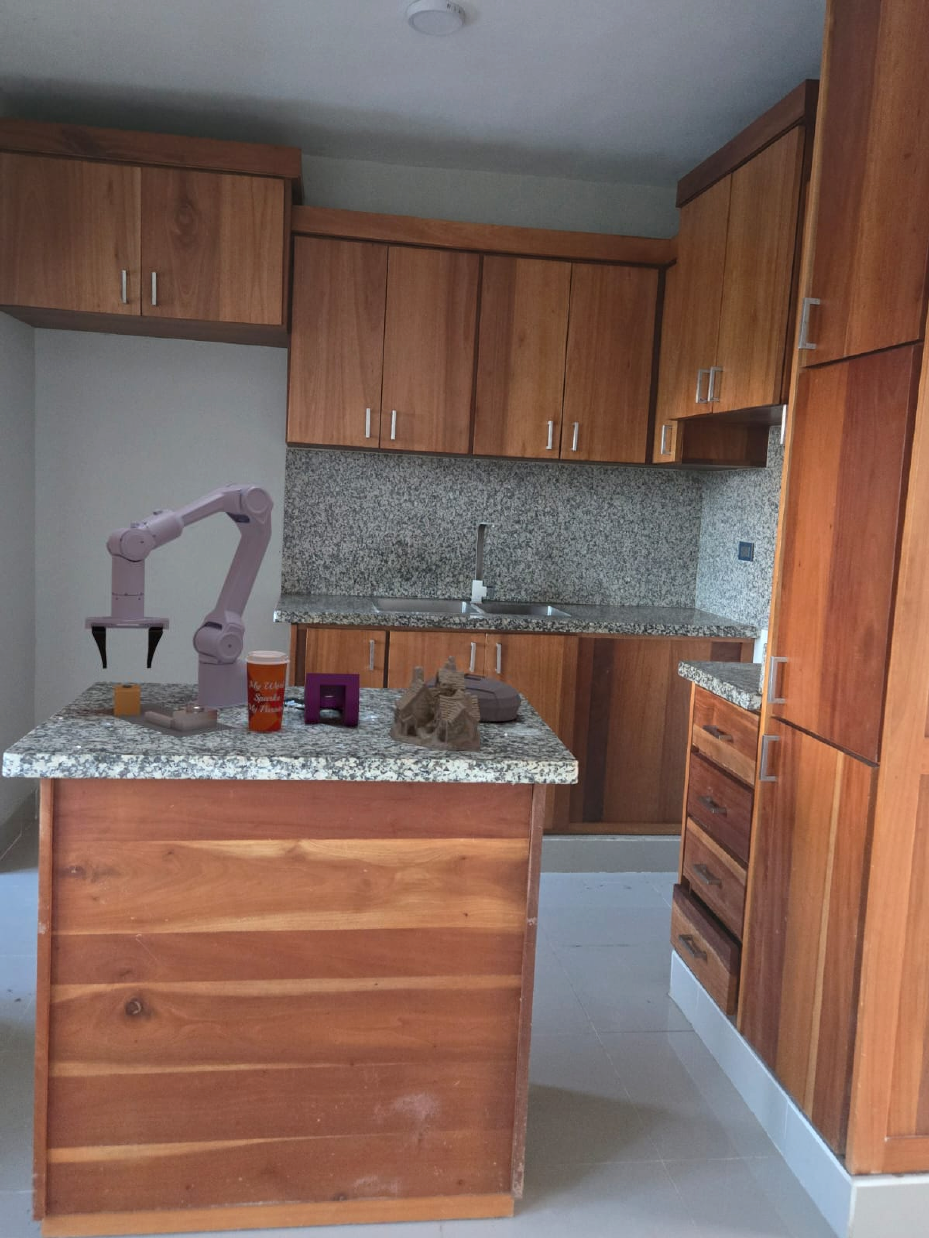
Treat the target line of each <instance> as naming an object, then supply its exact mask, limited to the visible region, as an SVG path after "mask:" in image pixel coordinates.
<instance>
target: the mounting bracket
mask: <svg viewBox="0 0 929 1238" xmlns="http://www.w3.org/2000/svg"><path fill="white" fill-rule="evenodd" d="M303 704H304V724H319V721H320V709H330V710H331V709H337V710H338V709H339V710H340V709H342V721H343V726H358V725H359V717H360V673H333V672H331V673H330V672H329V673H327V672H325V673H323V672H322V673H321V672H319V673H318V672H306V675H305V682H304V691H303Z"/></svg>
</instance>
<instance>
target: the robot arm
mask: <svg viewBox="0 0 929 1238" xmlns="http://www.w3.org/2000/svg"><path fill="white" fill-rule="evenodd" d="M274 505H275V503H274V501H273V499H272V496H271V495H270V493H269V491H268V490H267V489H266V488H265V486H263V485H261V484H257V483H256V484H238V483H229V484H227V485H225V486H222V487H218V488H216V489H214V490H213V491H210V492H209V493H207V494H205V495H204V496H202V497H199V498H198V499H196V500H194V501H192V502H191V503H189V504H187V505H185V506H183V507H180V508H179V509H178V510H175V511H173V510H170V509H167V508H165V509H162V508H157V509H155V510H152V515H150V516H148V517H145V518H143V519H142V520H141V519H140V521H138V520H133V521H131V522H130V527H119V528H117V529H115V530H114V531H112V532H111V535H110V536H109V537H108V541H107V542H105V547H106V550H107V552H108V554H109V555H110V556H111V590H110V591H111V592H110V593H111V601H110V602H111V605H110V606H111V607H110V608H111V609H110V612H111V613H110V616H85V618H84V621H85V622H84V629H86V630H87V629H88V630H89V629H91V635H92V637H93V639H94V641H95V643H96V644H95V645H96V646H97V648H98V651H99V655H100V658H101V659H100V660H101V665H102V669H103V670H105V669H107V668H108V658H107V657H108V656H107V629H130V630H131V629H137V630H138V629H141V630H145V629H148V631H147V632H148V633H147V639H148V640H147V655H146V669H152V664H153V663H152V662H153V659H154V656H155V652H156V650H157V646H158V645H159V642H161V638H162V636H163V634H164V631H163V630H169V629H170V618H169V617H154V616H145V582H146V580H145V576H146V575H145V574H146V570H145V566H146V559H147V558H148V557H149V555H150V553H151V552H152V551H154V550H156V549H158V548H160V547H162V546H164V545H166V544H167V543H170V542H172V541H174V540H176V539H178V538H180V537H181V536H182V534H183V531H184V528H186V527H187V526H189V525H192V524H194V523H196V522H199V521H202V520H203V519H206V518H209V517H210V516H213V515H216V514H218V513H225V514H226V515H227V516H228V518H230V519H231V521H233V523H234V524H235V525H236V527H237V529H238V530H239V532H240V535H241V537H240V540H239V542H238V545H237V548H236V550H235V552H234V555H233V559H232V562H231V564H230V567H229V569H228V572H227V575H226V577H225V580H224V582H223V585H222V588H221V591H220V593H219V597H218V598H217V602H216V603H215V604H216V605H215V607H214V609H213V610H211V612H209V613H208V614H207V615H206V616H205V617H204V619H203V622H202V623H201V625H200V626H199V627H198V628H197V629H196V630H195V632H194V634H193V635H192V636H193V637H192V646H193V648H194V650H195V652H196V653H197V655H198V656H197V657H198V659H197V660H198V666H197V700H196V699H195V700H190V701H188V704H189V703H190V704H200V705H204V706H205V707H210V708H213V709H219V708H226V707H233V706H240V705H248V693H247V663H246V662H245V660H242V659H238V658H239V657H240V656H241V654H242V652H243V649H244V640H243V639H244V635H245V632H246V627H245V623H244V622H243V619H242V617H243V613H245V612H244V611H245V609H246V605H247V603H248V602H249V598H250V596H251V593H252V590H253V587H254V584H255V582H256V579H257V577H258V574H259V571H260V568H261V566H262V562H263V560H264V558H265V554H266V552H267V549H268V547H269V543H270V541H271V537H272V510H273V508H274Z"/></svg>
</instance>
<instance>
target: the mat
mask: <svg viewBox="0 0 929 1238" xmlns="http://www.w3.org/2000/svg"><path fill="white" fill-rule="evenodd" d="M94 711H95V712H98V713H101V714H105V715H107V716H110V717H112V718H113V717H114V718H116V719H120V720H123V721H125V722H129V723H131V724H134V725H138V726H139V727H140V726H141V727H143V728H147V729H149V730H153V731H156V732H159V733H162V734H164V735H168V736H172V737H174V738H184V737H191V736H192V737H193V736H196V735H202V734H209V733H215V732H221V731H222V732H223V731H228V730H233V729H234V730H235V729H236V727H235V726H232V725H229V724H225V723H222V722H219V721H217V726H216V727H209V728H203V729H197V730H191V731H184V732H182V731H179V730H176V729H169V728H165V727H162V726H159V725H156V724H153V723H150V722H147V721H145V712H149V711H152V712H155V713H158V714H161V715H165V716H168V717H171V718H173V712H174V711H178V709H174V708H171V707H168V706H165V705H161V704H158V703H154V702H147V703H146V702H145V703H140V715H114V707H108V708H100V709H94Z"/></svg>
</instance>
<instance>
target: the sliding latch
mask: <svg viewBox="0 0 929 1238" xmlns="http://www.w3.org/2000/svg"><path fill="white" fill-rule="evenodd" d="M177 710H178V711H174V712H173V718H171V717H168V716H165V715H161V714H158V713H155V712H152V711H149V712H145V721H147V722H150V723H153V724H156V725H159V726H162V727H165V728H169V729H176V730H179V731H182V732H184V731H191V730H197V729H203V728H209V727H216V726H217V722H218V708H214V707H213V708H210V707H205V706H204V705H200V704H193V703H190V704H187V705H186V706H180V707H178V709H177Z"/></svg>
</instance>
